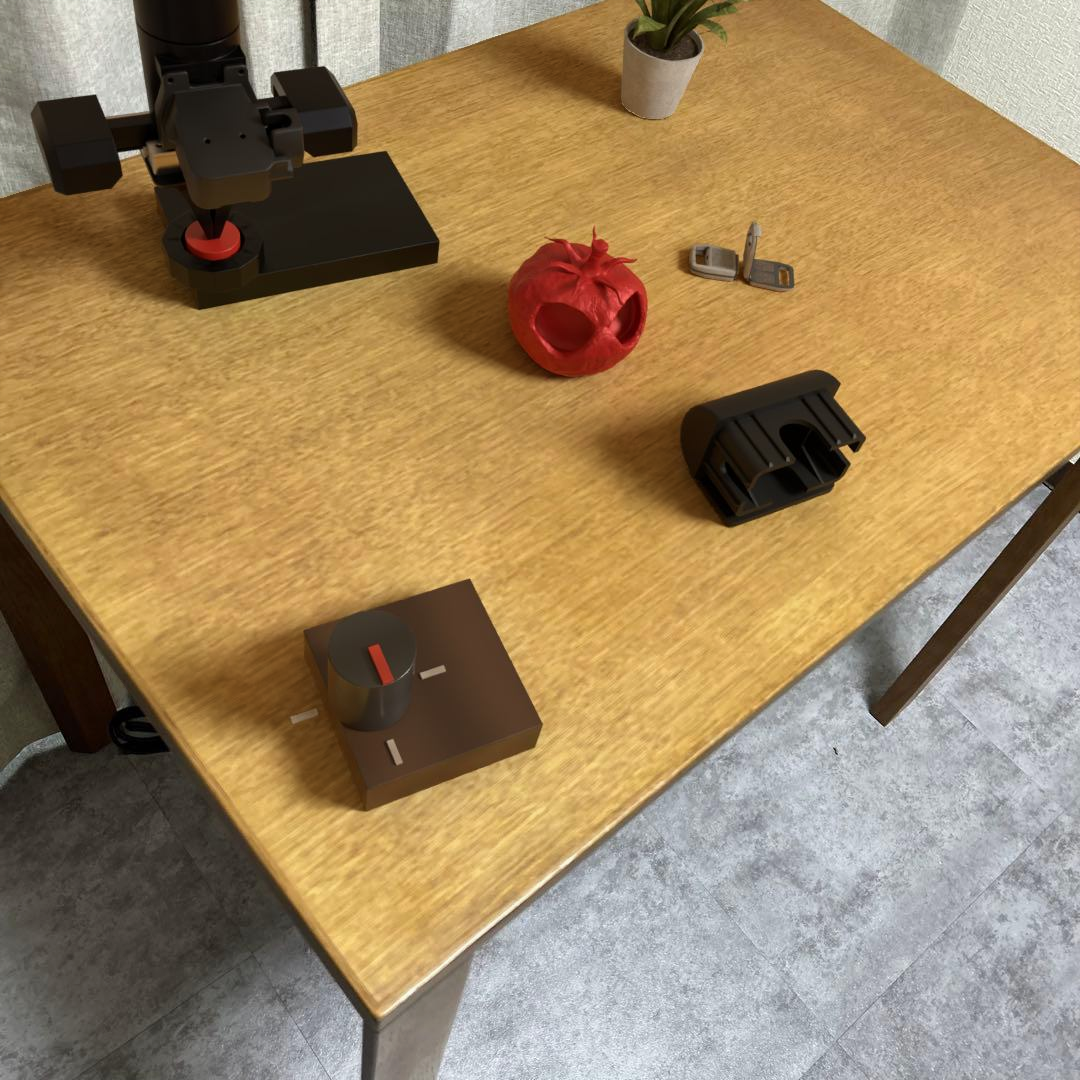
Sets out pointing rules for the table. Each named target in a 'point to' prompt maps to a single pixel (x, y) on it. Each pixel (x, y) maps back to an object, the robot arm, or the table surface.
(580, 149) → the table surface
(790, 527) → the table surface
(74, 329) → the table surface
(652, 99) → the house plant
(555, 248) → the red hollow tomato
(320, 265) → the black rectangular slab
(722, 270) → the strap clip
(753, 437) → the end cap
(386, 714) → the dial knob
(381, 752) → the knob panel
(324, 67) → the robot arm
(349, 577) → the table surface
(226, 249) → the button
